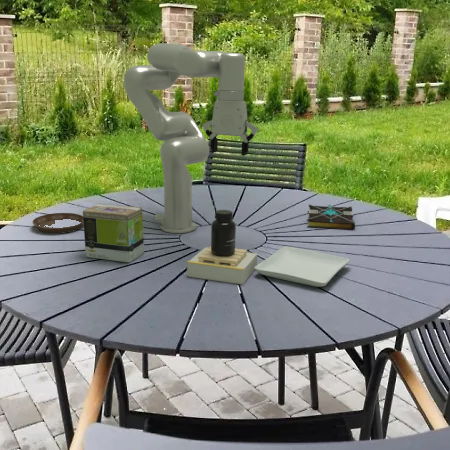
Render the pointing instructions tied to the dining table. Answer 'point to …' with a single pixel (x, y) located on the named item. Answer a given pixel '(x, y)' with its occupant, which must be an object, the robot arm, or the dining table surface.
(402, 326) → the dining table surface
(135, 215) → the tea box
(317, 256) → the salad plate
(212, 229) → the supplement bottle
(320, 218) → the book
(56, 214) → the plant saucer
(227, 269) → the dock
